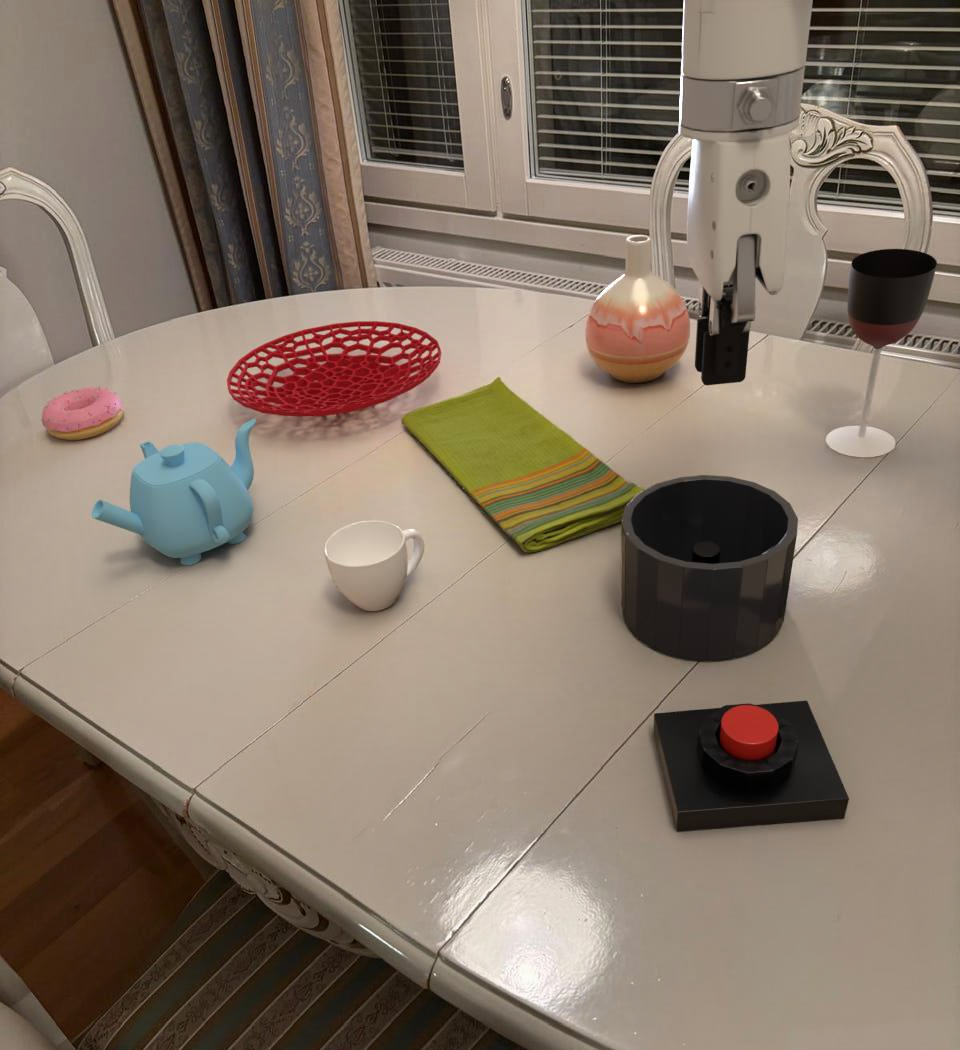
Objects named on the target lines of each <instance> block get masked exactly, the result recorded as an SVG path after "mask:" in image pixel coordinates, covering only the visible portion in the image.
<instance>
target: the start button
mask: <svg viewBox="0 0 960 1050" xmlns="http://www.w3.org/2000/svg"><path fill="white" fill-rule="evenodd" d="M778 728H779V727H778V722H777V720H776V718H775V717H774V716H773V715H772V714H771V713H770V712H768V711H767V710H765V709H763V708H761V707H758V706H753V705H740V706H736V707H733V708H731V709H729V710H728V711H727V712H726V713H725V714H724V715H723V717H722V720H721V729H720V742H721V745H722V746H723V748H724V749H725V750H726V751H727V752H728V753H729V754H731V755H732V756H734V757H738V758H741V759H744V760H758V759H762V758H765V757H767V756H768V755H770V754H771V753H772V752H773V751H774V749H775V746H776V741H777V735H778Z"/></svg>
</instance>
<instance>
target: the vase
mask: <svg viewBox="0 0 960 1050" xmlns="http://www.w3.org/2000/svg"><path fill="white" fill-rule="evenodd" d="M584 335H585V343H586V348H587V351H588V353H589V356H590V357H591V359H592V360H593V361H594V363H595V364H596V365H597V367H599V368H600V369H601V370H602V371H604V372H605V373H607V374H608V375H610V376H611V377H612V378H613V379H614V380H617V381H619V382H623V383H630V384H631V383H632V384H639V383H640V384H641V383H647V382H650V381H651V382H652V381H654V380H656V379H658V378H660V377H661V376H662V375H663V374H664V373H666V372H667V371H668V370H670V369H671V368H672V367H674V366H675V365H676V364H677V363H679V361H680V359H681V358H682V356H683V355H684V353H685V352H686V351H687V348H688V345H689V341H690V337H691V319H690V315H689V310H688V308H687V305H686V303H685V301H684V299H683V297H682V296H681V294H680V293H679V292H678V291H677V290H676V289H675V288H674V287H673V286H672V285H671V284H670V283H668V282H667V281H666V280H665V279H663V278H661V277H660V276H659V275H657V274H655V273H654V272H652V238H651V236H649V235H644V234H635V235H631V236H629V237H627V238H626V243H625V270H624V273H623V274H622V275H621V276H620V277H618V278H617V279H615V280H614V281H613V282H611V283H610V284H609V285H608V286H606V287H605V289H603V291H602V292H600V294H598V296H597V298H596V299H595V301H594V302H593V304H592V306H591V308H590V311H589V312H588V315H587V319H586V324H585V334H584Z"/></svg>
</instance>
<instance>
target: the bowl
mask: <svg viewBox="0 0 960 1050" xmlns="http://www.w3.org/2000/svg"><path fill="white" fill-rule="evenodd" d="M356 327H357V329H353V330H349V329H346V328H356ZM362 327H367V328H362ZM368 327H371V328H368ZM378 327H379V328H386V329H384V330H378V329H377V328H378ZM394 329H399V332H398V333H397V334H395V333H392V332H393V330H394ZM327 331H329V332H327ZM405 331H406V332H405ZM321 332H327V333H325V334H321ZM407 332H408V333H407ZM310 334H311V335H313V337H312V338H306V335H310ZM339 334H341V335H345V336H343V337H337V335H339ZM415 334H416V335H418V336H421V337H420V338H419V339H416V338H413V337H412V336H414V335H415ZM373 336H375V337H373ZM299 337H302V340H299V341H297V340H295V339H296V338H299ZM330 338H332V340H331V342H328V343H326V344H323V342H324V340H327V339H330ZM426 339H427V340H428V341H429V343H428V344H423V342H424V341H425V340H426ZM364 340H369V344H368V345H367V344H364V343H360V342H361V341H364ZM407 340H408V341H410V343H407V344H405V345H403V344H402V343H403V342H405V341H407ZM350 341H352V342H354V344H351V345H346V344H345V343H347V342H350ZM381 341H382V342H383V341H384V342H389V343H387V344H384V345H383V346H381V347H377V346H376V347H375V344H376V343H378V342H381ZM355 342H356V343H355ZM289 344H293V345H292V346H288V345H289ZM311 344H316V345H318V346H315V347H310V345H311ZM302 346H305V349H301V350H297V349H298V347H302ZM269 348H270V349H273V351H271V350H269ZM333 348H335V349H341V350H342V352H341V353H328V352H327V351H329V350H331V349H333ZM397 348H399V349H400V350H401V352H400V353H398V354H395V355H393V356H389V355H383V354H384V353H386V352H387V351H390V350H391V349H397ZM411 349H412V351H411V352H409V353H406V352H407V351H409V350H411ZM296 350H297V351H296ZM358 350H359V351H362V352H365V354H359V355H358V354H357V355H351V354H349V353H352V352H354V351H358ZM435 350H437V352H436V353H435V354H433V352H435ZM261 352H262V353H264V354H266V356H260V355H258V354H260V353H261ZM426 352H428V354H427V355H426V356H424V357H422V356H423V354H425V353H426ZM320 353H321V354H320ZM315 354H316V355H315ZM304 356H309V357H306V358H302V357H304ZM253 357H254V358H255V359H254V361H252V362H251V361H250V362H248V361H249V360H250V359H251V358H253ZM414 357H415V358H414ZM273 358H277V359H281V360H283V361H284V362H283V363H281V364H278V365H273V364H271V363H269V361H270V360H271V359H273ZM289 359H290V360H289ZM441 359H442V350H441V347H440V344H439V341H438V340H437V339H436V338H434V337H433V336H432V335H431V334H430V333H428V332H426V331H424V330H422V329H419V328H417V327H414V326H411V325H406V324H402V323H399V322H390V321H389V322H388V321H377V320H369V321H367V320H365V321H364V320H363V321H362V320H361V321H360V320H359V321H358V320H357V321H349V322H348V321H347V322H337V323H331V324H325V325H321V326H316V327H315V326H314V327H310V328H306V329H301V330H297V331H296V332H292V333H289V334H285V335H282V336H280V337H278V338H274V339H272V340H271V341H268V342H265V343H264V344H261V345H259V346H258V347H256V348H253V349H251V350H250V351H249V352H248V353H247V354H245V355H244V356H242V357H241V358H239V360H238V361H237V362H236V363H235V364H234V365H233V367H232V368H231V369H230V370H229V373H228V375H227V378H226V385H227V391H228V393H229V395H230V396H231V397H232V399H233V400H234V401H235V402H237V403H238V404H240V405H241V406H243V407H244V408H246V409H247V408H248V409H250V410H252V411H254V412H255V411H256V412H258V413H261V414H267V415H275V416H276V415H277V416H282V417H299V418H300V417H302V418H304V417H306V418H307V417H310V418H311V417H324V416H325V417H327V416H333V415H334V416H335V415H342V414H348V413H352V412H353V413H354V412H357V411H361V410H364V409H368V408H370V407H375V406H376V405H379V404H382V403H385V402H389V401H390V400H393V399H395V398H396V397H399V396H401V395H403V394H405V393H407V392H409V391H411V390H413V389H415V388H416V387H418V386H419V385H421V384H423V383H424V382H425V381H426V380H428V379H429V378H430V377H431V376H432V374H433V373H434V372H435V371H436V369H437V368H438V367H439V365H440V364H441ZM401 360H407V361H406V362H404V363H401V364H397V362H399V361H401ZM261 362H265V363H264V364H260V363H261ZM321 363H322V364H321ZM416 364H417V365H416ZM242 365H243V366H242ZM296 365H301V366H299V367H296ZM302 365H303V366H302ZM251 368H257V369H259V370H260V372H258V373H254V374H251V372H249V371H248V370H249V369H251ZM287 369H289V370H290V371H291V372H292V374H289V375H286V376H282V375H281V376H280V375H278V373H280V372H282V371H285V370H287ZM266 370H271V374H270V373H268V372H267V373H266V372H265V371H266ZM238 371H241V372H240V373H239V374H237V372H238ZM416 372H417V373H416ZM414 373H415V374H414ZM411 374H412V375H411ZM245 377H248V378H245ZM233 378H234V379H236V381H234V380H233ZM261 379H266V380H267V381H266V382H264V381H261ZM274 383H278V384H281V386H274ZM231 386H232V387H234V388H235V389H234V388H231ZM257 387H260V388H263V389H257ZM236 388H237V389H236ZM264 389H265V390H264ZM260 396H262V397H260ZM275 404H276V405H275Z"/></svg>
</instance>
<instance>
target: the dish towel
mask: <svg viewBox="0 0 960 1050" xmlns="http://www.w3.org/2000/svg"><path fill="white" fill-rule="evenodd" d="M400 422H401V424H402V425H403V426H404V427H405V428H406V429H407V430H408V431H409V432H410V433H411V434H412V435H413V436H414V437H415V439H417V440H418V441H419V442H420V443H421V444H422V445H423V446H424V447H425V449H427V450H428V451H429V452H430V453H431V454H432V455H433V456H434V458H436V460H437V461H438V462H439V463H440V464H441V465H442V466H443V467H444V468H445V469H446V470H447V471H448V473H449V474H450V475H451V476H452V477H453V478H454V479H455V481H456V482H457V483H458V484H459V485H460V486H461V488H463V490H464V491H465V492H466V493H467V494H468V495H469V496H470V497H471V498H472V499H473V500H474V501H475V502H476V504H478V505H479V506H480V507H481V509H482V510H484V512H485V513H486V514H487V515H488V516H489V517H490V519H492V520H493V521H494V523H496V525H497V526H498V527H499V528H500V529H501V530H502V531H503V532H504V533H505V534H506V535H507V537H509V538H510V539H511V540H512V541H514V543H516V544H517V546H518V547H519V548H520V549H521V550H522V552H524V553H536V552H541V551H544V550H547V549H550V548H553V547H556V546H558V545H560V544H562V543H565V542H568V541H570V540H573V539H576V538H579V537H581V536H584V535H589V534H591V533H593V532H595V531H599V530H602V529H604V528H607V527H610V526H612V525H615V524H617V523H620V522H622V517H623V514H624V511H625V508H626V505H627V504H628V503H629V502H630V501H631V500H632V499H633V498H634V497H635V496H636V495H637V494H638V493H640V492H642V491H644V490H645V488H643V487H641V486H639V485H637V484H636V483H634V482H630V481H627V480H625V478H623V477H622V476H621V475H620V474H618V473H617V472H616V471H615V470H613V469H612V468H611V467H610V466H608V465H607V464H606V463H605V462H603V460H601V459H599V457H597V456H596V455H594V454H593V453H592V452H591V451H590V450H589V449H588V448H586V447H585V446H583V445H582V444H581V443H579V442H578V441H577V440H576V439H575V438H573V437H572V436H570V434H569V433H567V432H565V430H563V429H562V428H560V427H559V426H558V425H556V424H554V423H553V422H552V421H551V420H550V419H548V418H547V417H545V416H544V414H542V413H540V412H539V411H538V410H536V409H535V408H534V407H533V406H531V405H530V404H529V403H528V402H527V401H525V400H524V399H522V398H521V397H520V396H519V395H517V394H516V393H515V392H514V391H512V390H511V388H510V387H508V385H506V384H505V382H504V381H503V380H502V379H501V377H500V376H497V377H496V378H495V379H494V380H493V381H492V382H490V383H488V384H486V385H483V386H480V387H477V388H475V389H473V390H470V391H468V392H465V393H462V394H460V395H457V396H454V397H450V398H446V399H444V400H441V401H438V402H435V403H431V404H428V405H425V406H421V407H418V408H416V409H414V410H412V411H409V412H407V413H405V414H404V415H403V416H402V418H401V419H400Z"/></svg>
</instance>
